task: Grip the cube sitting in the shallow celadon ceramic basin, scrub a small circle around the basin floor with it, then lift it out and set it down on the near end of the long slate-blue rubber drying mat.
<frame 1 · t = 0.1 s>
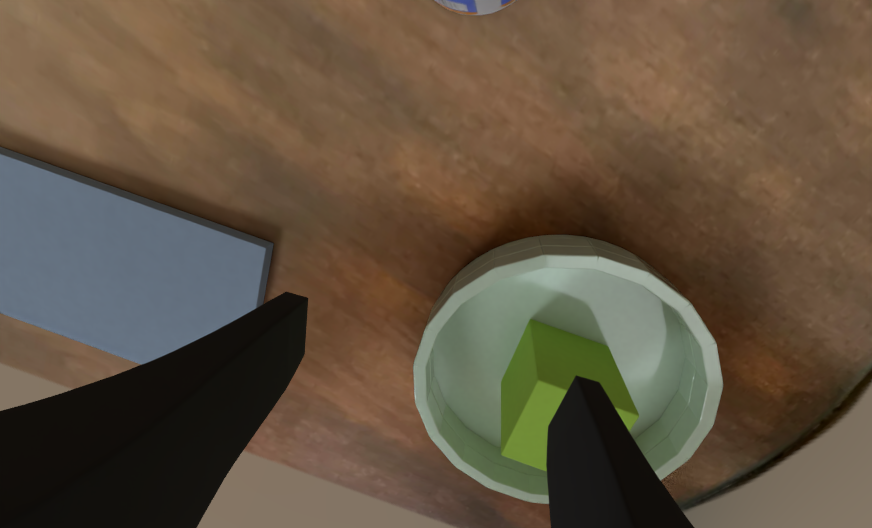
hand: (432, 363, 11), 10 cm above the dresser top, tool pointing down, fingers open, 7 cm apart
basin: (551, 358, 22), on the dresser top
cube: (552, 364, 21), point 1 cm above the dresser top, touching basin
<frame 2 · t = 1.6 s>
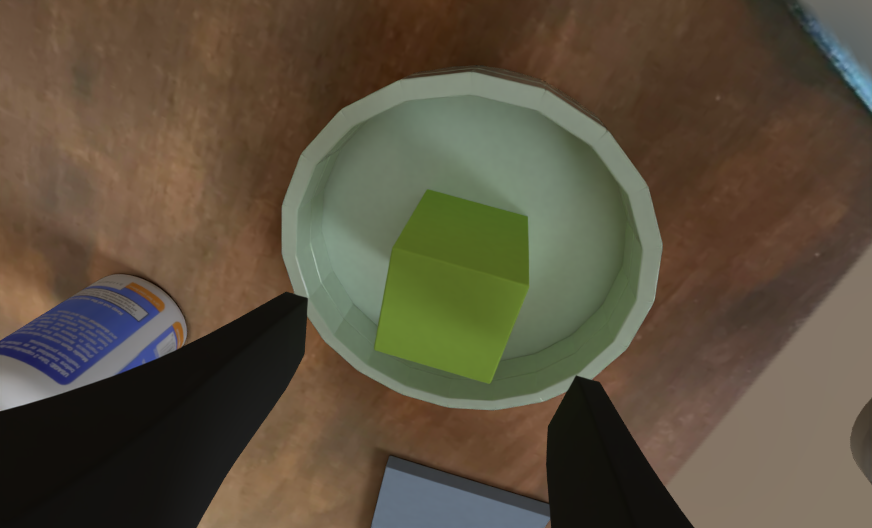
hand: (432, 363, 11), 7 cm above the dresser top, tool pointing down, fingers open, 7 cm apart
pill bottle: (148, 311, 23), on the dresser top
basin: (466, 240, 18), on the dresser top
cube: (464, 246, 17), point 1 cm above the dresser top, touching basin
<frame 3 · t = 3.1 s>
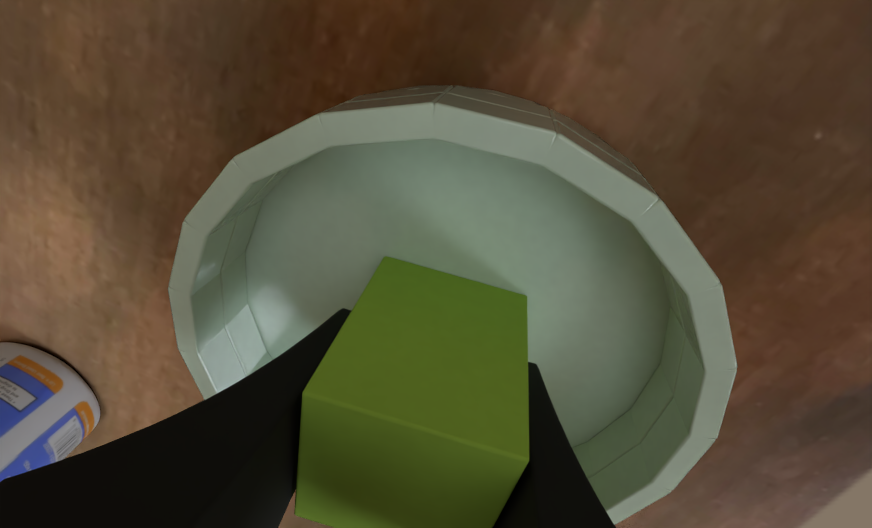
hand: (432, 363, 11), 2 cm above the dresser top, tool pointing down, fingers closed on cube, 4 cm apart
pill bottle: (52, 382, 19), on the dresser top
basin: (443, 318, 13), on the dresser top
cube: (439, 330, 12), point 1 cm above the dresser top, touching basin, gripper
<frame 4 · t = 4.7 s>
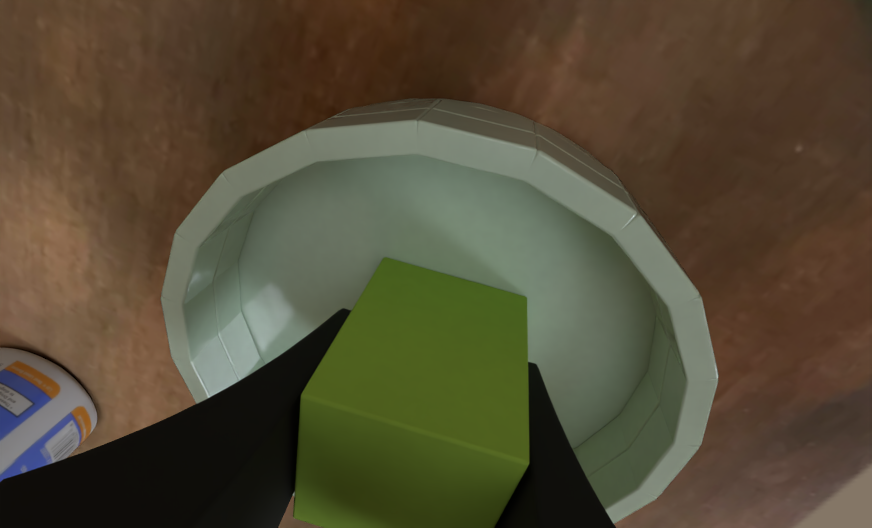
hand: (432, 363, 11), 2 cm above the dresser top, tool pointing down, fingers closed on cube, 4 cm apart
pill bottle: (50, 387, 19), on the dresser top
basin: (434, 325, 13), on the dresser top
cube: (439, 331, 12), point 1 cm above the dresser top, touching gripper
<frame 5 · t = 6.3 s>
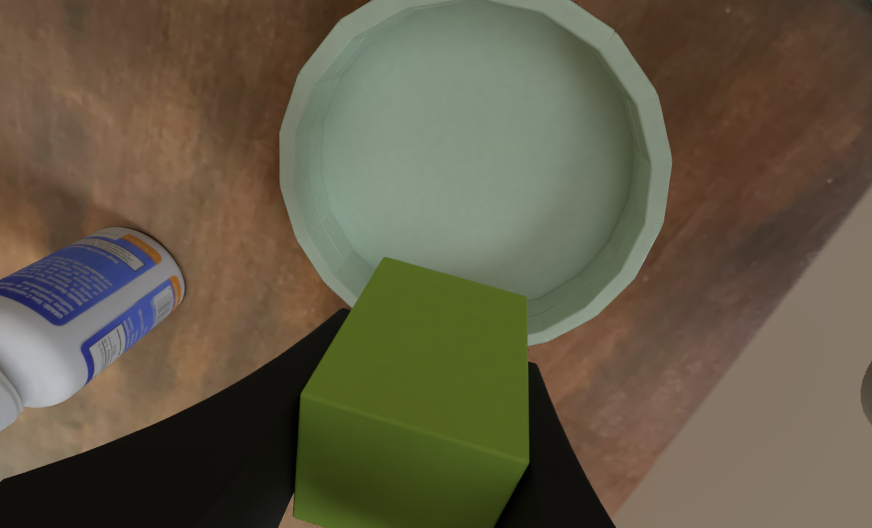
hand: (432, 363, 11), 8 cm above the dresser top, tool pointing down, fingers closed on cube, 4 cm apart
pill bottle: (145, 267, 23), on the dresser top
basin: (468, 177, 17), on the dresser top
cube: (439, 331, 12), point 7 cm above the dresser top, touching gripper
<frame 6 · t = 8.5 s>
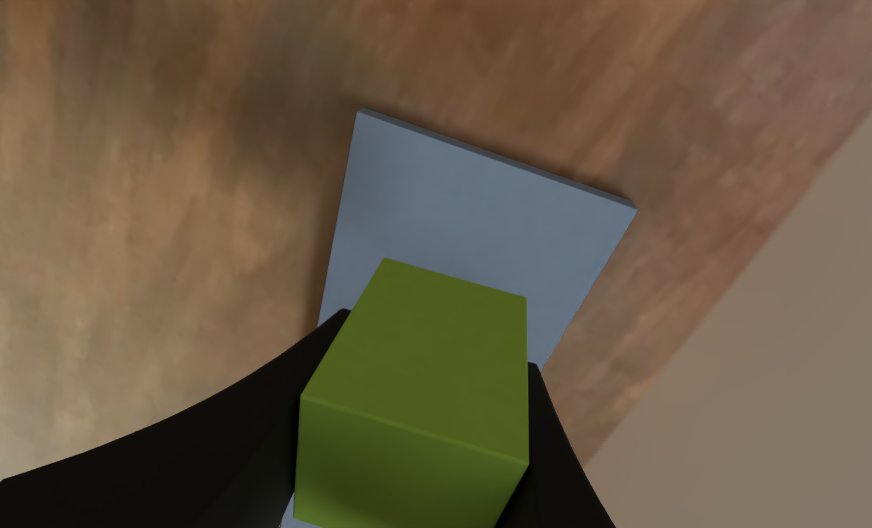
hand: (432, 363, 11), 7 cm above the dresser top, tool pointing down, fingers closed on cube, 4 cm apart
cube: (439, 332, 12), point 5 cm above the dresser top, touching gripper
mat: (386, 450, 24), on the dresser top
when the fingers open (2 cm above the dresser top, at t = 10.0 s): cube stays where it is, resting on mat.
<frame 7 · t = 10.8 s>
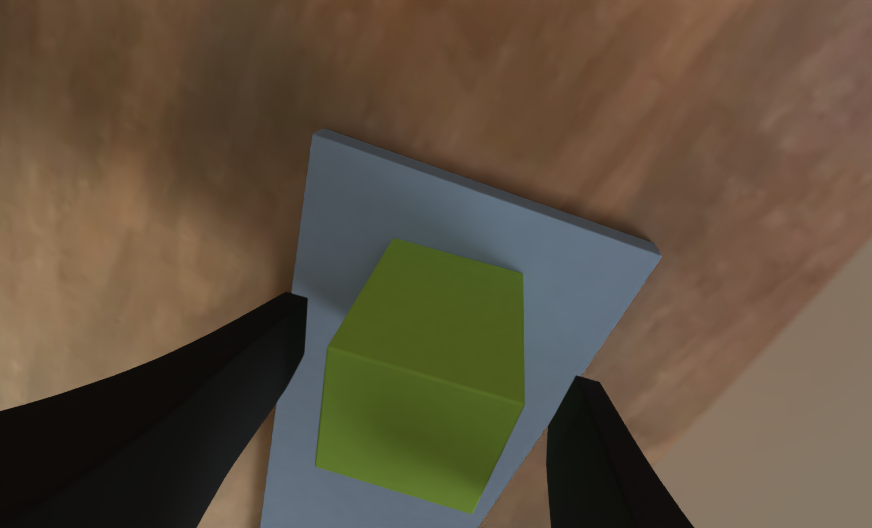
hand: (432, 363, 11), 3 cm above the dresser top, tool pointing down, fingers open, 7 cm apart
cube: (443, 307, 13), point 1 cm above the dresser top, touching mat
mat: (365, 507, 21), on the dresser top
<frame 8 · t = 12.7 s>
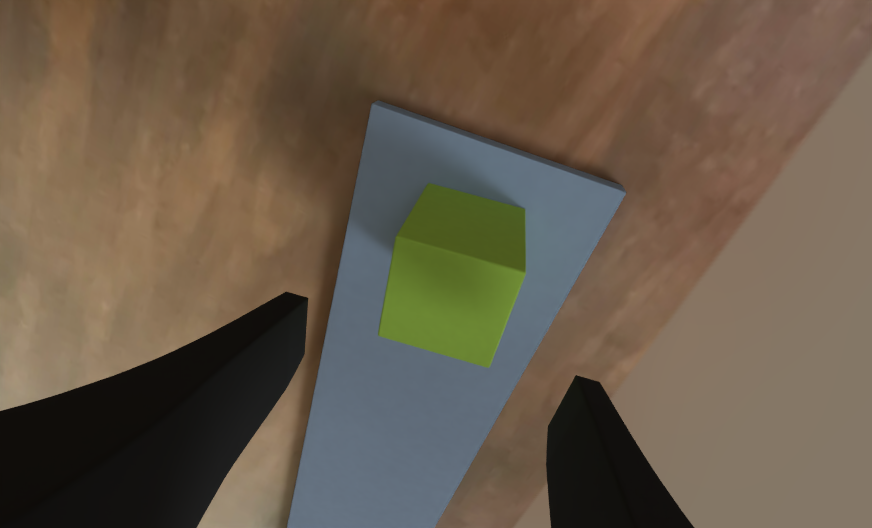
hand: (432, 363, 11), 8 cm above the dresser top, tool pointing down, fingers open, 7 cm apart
cube: (464, 238, 18), point 1 cm above the dresser top, touching mat
mat: (393, 426, 26), on the dresser top
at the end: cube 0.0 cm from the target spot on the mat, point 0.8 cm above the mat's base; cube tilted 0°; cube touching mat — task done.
